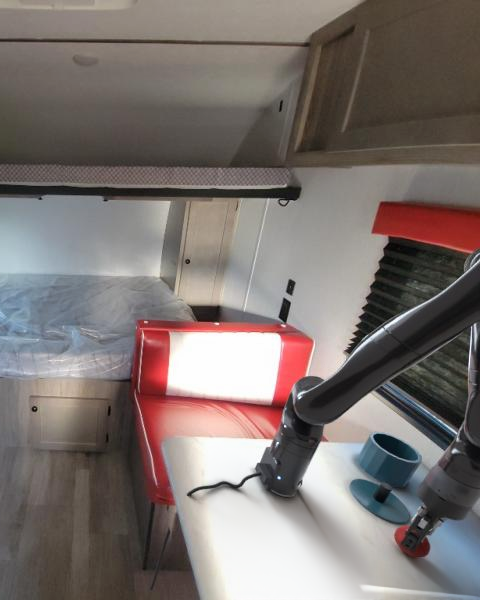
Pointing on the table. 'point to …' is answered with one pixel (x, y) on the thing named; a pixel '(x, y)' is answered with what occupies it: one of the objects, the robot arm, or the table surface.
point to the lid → (379, 500)
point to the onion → (419, 551)
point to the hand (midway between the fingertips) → (414, 539)
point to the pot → (389, 459)
